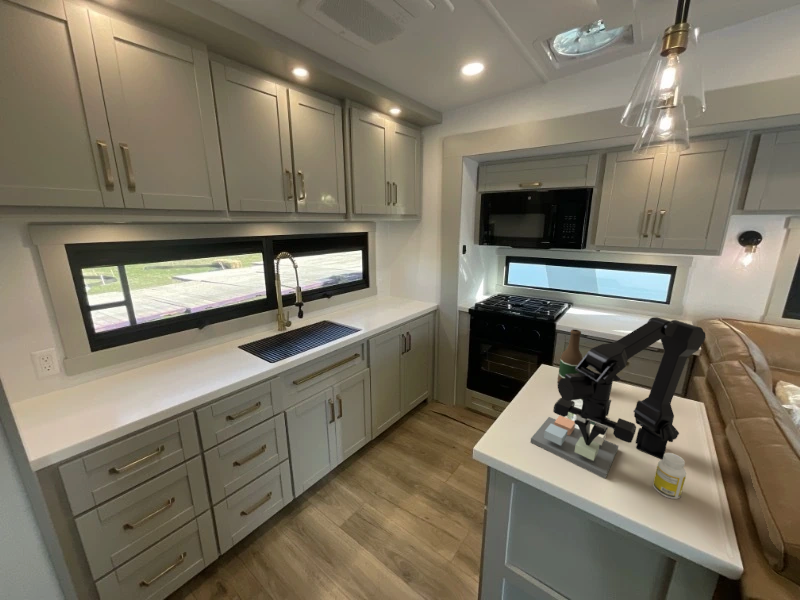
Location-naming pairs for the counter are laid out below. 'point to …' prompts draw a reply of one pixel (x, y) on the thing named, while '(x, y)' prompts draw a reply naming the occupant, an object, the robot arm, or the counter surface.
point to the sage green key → (587, 449)
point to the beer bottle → (570, 356)
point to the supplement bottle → (670, 476)
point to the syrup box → (572, 416)
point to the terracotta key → (565, 424)
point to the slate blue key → (555, 434)
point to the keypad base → (568, 447)
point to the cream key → (599, 438)
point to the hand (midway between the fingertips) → (587, 444)
